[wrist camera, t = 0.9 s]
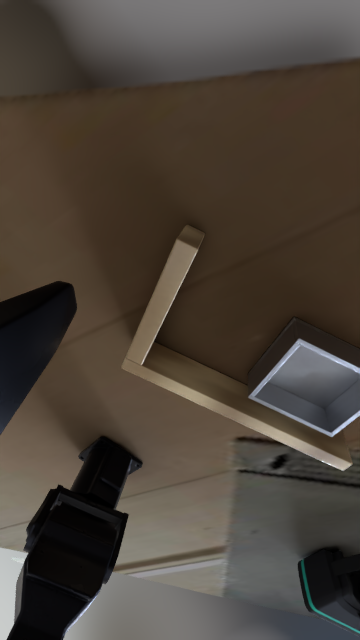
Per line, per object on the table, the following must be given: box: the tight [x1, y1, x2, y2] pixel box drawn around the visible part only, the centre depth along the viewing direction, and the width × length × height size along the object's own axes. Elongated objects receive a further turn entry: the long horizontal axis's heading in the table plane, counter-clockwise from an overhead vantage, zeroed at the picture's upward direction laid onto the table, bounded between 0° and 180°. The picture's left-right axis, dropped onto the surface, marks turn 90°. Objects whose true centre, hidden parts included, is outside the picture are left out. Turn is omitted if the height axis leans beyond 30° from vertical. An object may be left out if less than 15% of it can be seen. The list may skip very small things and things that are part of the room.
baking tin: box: [248, 317, 360, 437], centre depth 24 cm, size 8×7×3 cm
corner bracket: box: [121, 225, 353, 471], centre depth 24 cm, size 22×12×4 cm, turn 67°
